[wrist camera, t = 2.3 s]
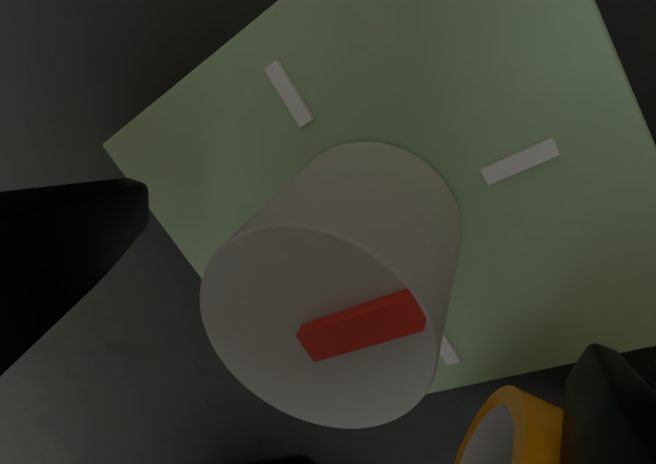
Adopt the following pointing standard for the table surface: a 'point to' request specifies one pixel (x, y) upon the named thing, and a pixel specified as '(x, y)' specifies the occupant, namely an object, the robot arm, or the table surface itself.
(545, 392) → the table surface
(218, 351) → the dial
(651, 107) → the table surface
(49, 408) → the table surface
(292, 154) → the dial panel
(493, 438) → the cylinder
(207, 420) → the table surface
